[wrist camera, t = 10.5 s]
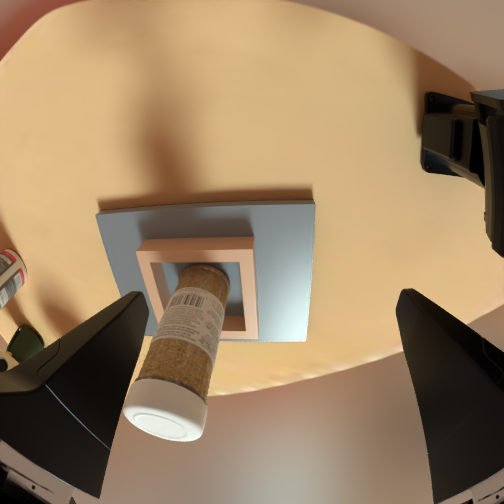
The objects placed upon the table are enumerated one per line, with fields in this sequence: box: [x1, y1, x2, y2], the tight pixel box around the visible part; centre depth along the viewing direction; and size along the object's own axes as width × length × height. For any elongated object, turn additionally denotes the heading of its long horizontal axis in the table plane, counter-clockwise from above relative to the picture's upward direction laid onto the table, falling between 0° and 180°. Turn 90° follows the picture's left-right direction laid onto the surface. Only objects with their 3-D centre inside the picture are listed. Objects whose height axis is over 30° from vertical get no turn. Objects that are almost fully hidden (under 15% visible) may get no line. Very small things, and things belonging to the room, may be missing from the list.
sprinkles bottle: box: [123, 264, 230, 441], centre depth 18 cm, size 5×5×13 cm
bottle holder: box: [96, 200, 315, 342], centre depth 23 cm, size 18×14×3 cm
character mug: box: [0, 325, 44, 373], centre depth 28 cm, size 11×7×13 cm, turn 97°
